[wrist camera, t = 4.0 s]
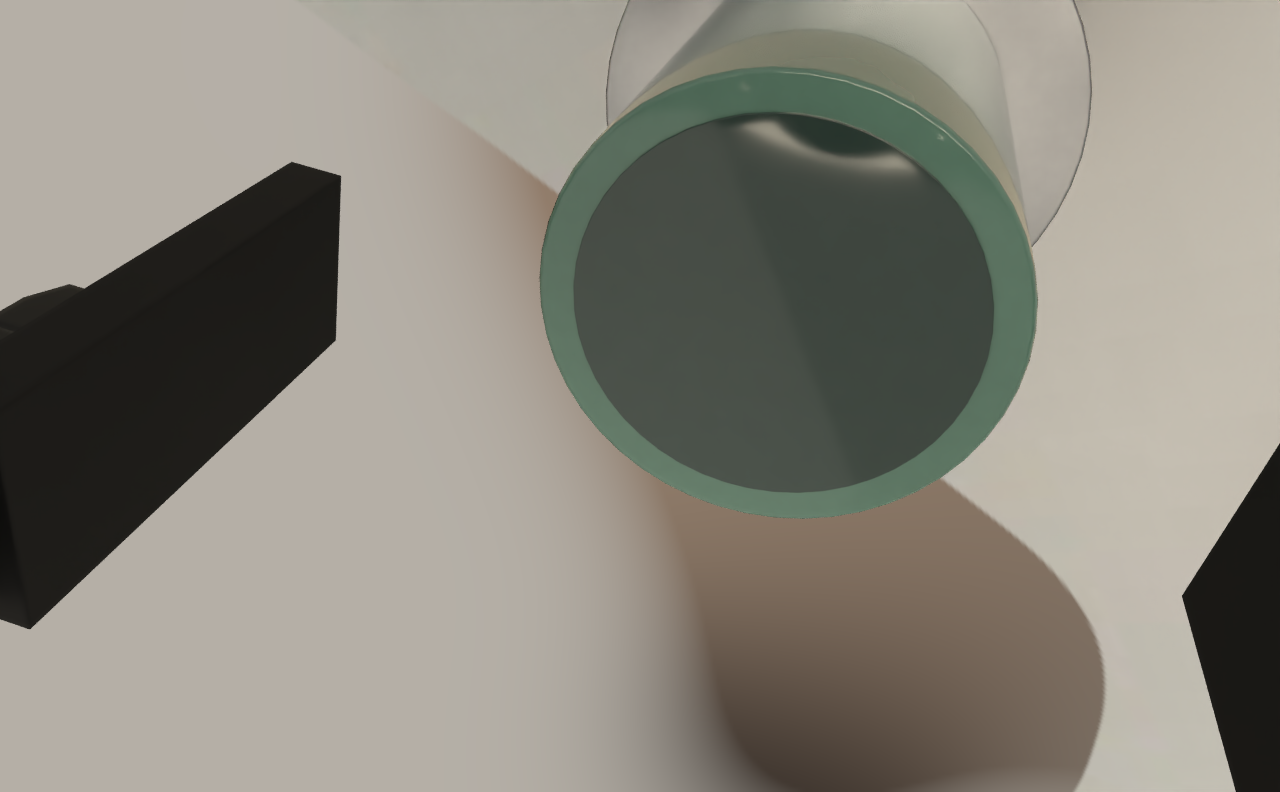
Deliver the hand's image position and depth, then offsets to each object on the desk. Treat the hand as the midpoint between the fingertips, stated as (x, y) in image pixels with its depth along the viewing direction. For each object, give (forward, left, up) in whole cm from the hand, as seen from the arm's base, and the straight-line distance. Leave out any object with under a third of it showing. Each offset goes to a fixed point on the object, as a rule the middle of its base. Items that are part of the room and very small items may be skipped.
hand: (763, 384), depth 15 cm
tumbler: (0, 0, -12) cm, 12 cm away
